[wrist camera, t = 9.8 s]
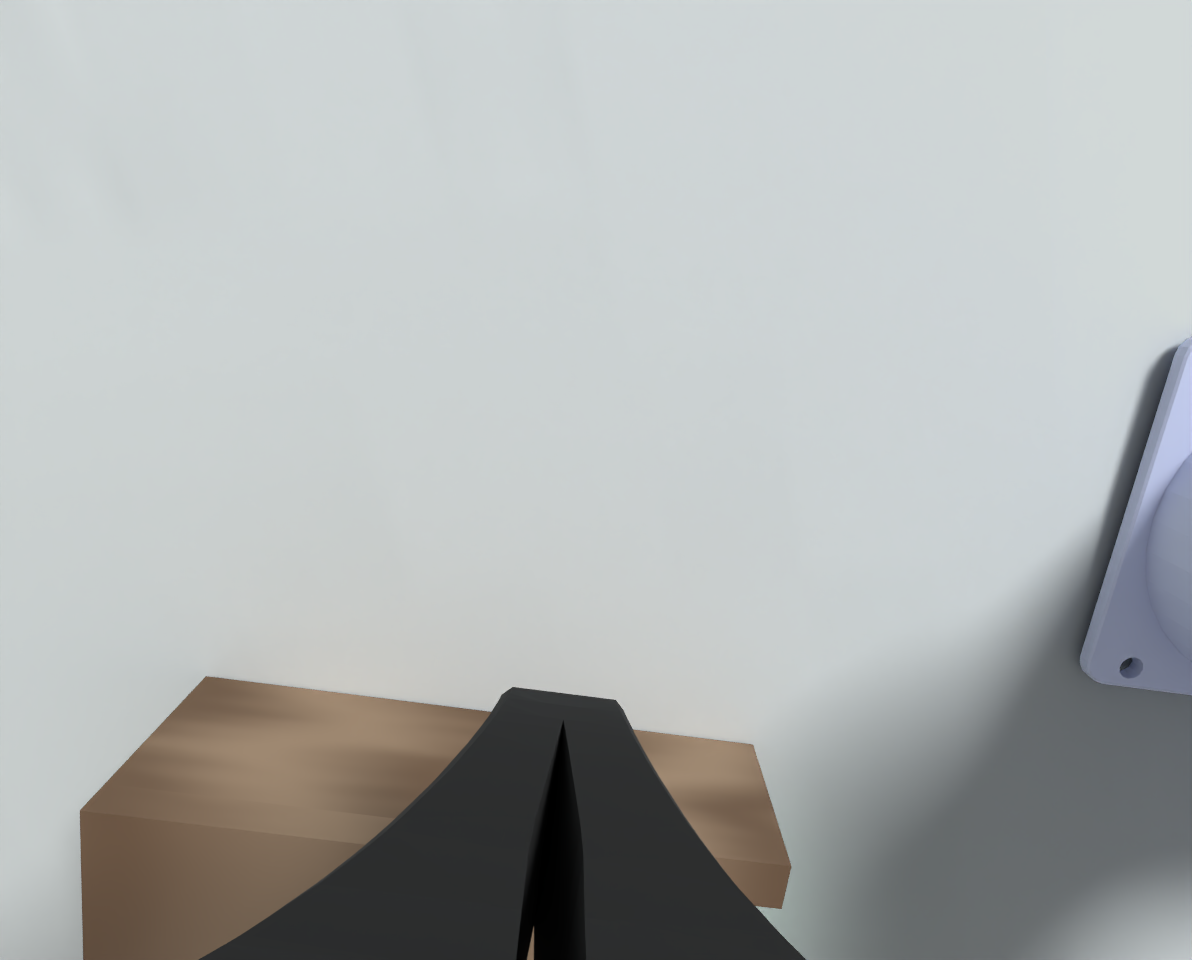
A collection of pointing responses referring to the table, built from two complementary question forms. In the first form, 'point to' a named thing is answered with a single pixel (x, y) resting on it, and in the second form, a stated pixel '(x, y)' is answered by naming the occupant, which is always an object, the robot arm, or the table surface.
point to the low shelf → (327, 810)
